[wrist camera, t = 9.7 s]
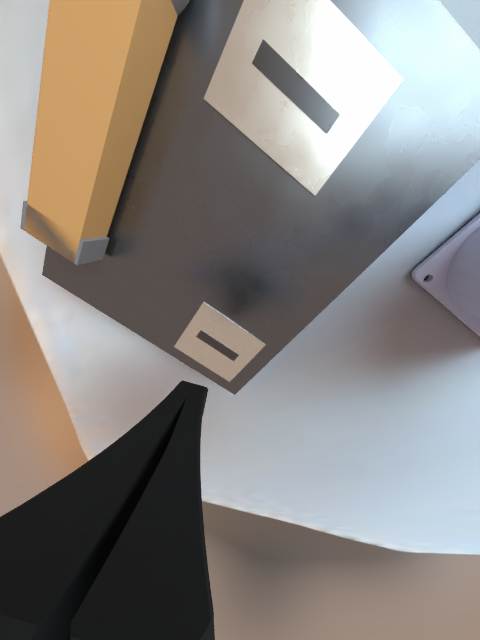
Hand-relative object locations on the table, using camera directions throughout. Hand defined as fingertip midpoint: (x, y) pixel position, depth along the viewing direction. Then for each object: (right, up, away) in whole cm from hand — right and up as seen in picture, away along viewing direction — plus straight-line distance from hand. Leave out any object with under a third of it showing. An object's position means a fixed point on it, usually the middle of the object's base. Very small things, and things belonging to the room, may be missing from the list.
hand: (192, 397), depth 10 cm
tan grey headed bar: (-4, +14, 0) cm, 15 cm away
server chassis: (+1, +11, +4) cm, 12 cm away
